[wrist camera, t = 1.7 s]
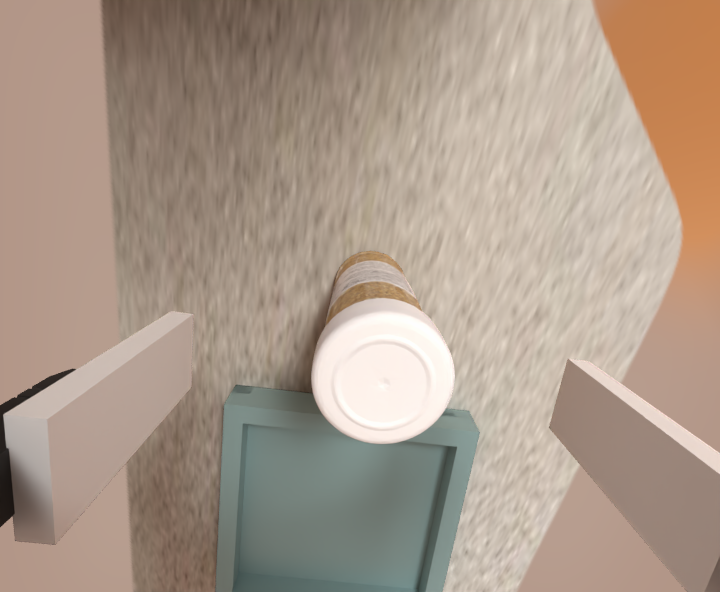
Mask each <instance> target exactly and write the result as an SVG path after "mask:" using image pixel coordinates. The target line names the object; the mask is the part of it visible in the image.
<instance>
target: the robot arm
mask: <svg viewBox="0 0 720 592" xmlns="http://www.w3.org/2000/svg"><path fill="white" fill-rule="evenodd" d="M193 321H194V314H190V313H182V312H174V311H170V312H169V313H167V314H166V315H164V316H162V317H161V318H159V319H157V320H156V321H154V322H153V323H151V324H149V325H148V326H146V327H144V328H143V329H141V330H140V331H138V332H136V333H135V334H133V335H132V336H130V337H128V338H127V339H125V340H123V341H122V342H120V343H119V344H117V345H115V346H114V347H112V348H110V349H109V350H107V351H106V352H104V353H102V354H101V355H99V356H97V357H96V358H94V359H93V360H91V361H89V362H88V363H86V364H85V365H83V366H81V367H80V368H78V369H70V370H67V371H64V372H61V373H58V374H56V375H53V376H50V377H48V378H46V379H45V380H43V381H41V382H39V383H38V384H36V385H34V386H33V387H32V389H27V390H26V391H24V392H22V393H21V394H19V395H18V396H17V398H15V397H14V398H12V399H10V400H9V401H7V402H5V403H3V404H2V405H0V527H1V526H2V525H3V524H4V523H5V522H6V521H7V520H9V519H10V518H11V517H12V516H13V524H14V534H15V541H20V542H32V543H42V544H52V545H56V544H57V542H58V541H59V540H60V539H61V538H62V537H63V535H64V534H65V533H66V532H67V531H68V530H69V528H70V527H71V526H72V525H73V524H74V523H75V521H76V520H77V519H78V518H79V517H80V516H81V515H82V513H83V512H84V511H85V510H86V509H87V507H89V505H90V504H91V503H92V502H93V501H94V500H95V498H96V497H97V496H98V495H99V494H100V493H101V491H102V490H103V489H104V488H105V487H106V486H107V484H108V483H109V482H110V481H111V480H112V479H113V477H114V476H115V475H116V474H117V473H118V472H119V471H120V469H121V468H122V467H123V466H124V465H125V464H126V463H127V461H128V460H129V459H130V458H131V457H132V456H133V454H134V453H135V452H136V451H137V450H138V449H139V448H140V446H141V445H142V444H143V443H144V442H145V441H146V439H147V438H148V437H149V436H150V435H151V434H152V432H153V431H154V430H155V429H156V428H157V427H158V426H159V424H160V423H161V422H162V421H163V420H164V419H165V417H166V416H167V415H168V414H169V413H170V412H171V411H172V409H173V408H174V407H175V406H176V405H177V404H178V402H179V401H180V400H181V399H182V398H183V397H184V395H185V394H186V393H187V392H188V391H189V390H190V389H191V385H192V353H193ZM549 428H550V429H551V430H552V432H553V433H554V434H555V435H556V436H557V438H558V439H559V440H560V441H561V442H562V444H563V445H564V446H565V447H566V448H567V450H568V451H569V452H570V453H571V454H572V456H573V457H574V458H575V459H576V460H577V461H578V463H579V464H580V465H581V466H582V467H583V469H584V470H585V471H586V472H587V473H588V475H589V476H590V477H591V478H592V479H593V481H594V482H595V483H596V484H597V485H598V486H599V488H600V489H601V490H602V491H603V492H604V494H605V495H606V496H607V497H608V498H609V499H610V501H611V502H612V503H613V504H614V505H615V507H616V508H617V509H618V510H619V511H620V513H621V514H622V515H623V516H624V517H625V519H626V520H627V521H628V522H629V523H630V525H631V526H632V527H633V528H634V529H635V531H636V532H637V533H638V534H639V535H640V537H641V538H642V539H643V540H644V541H645V542H646V544H647V545H648V546H649V547H650V548H651V550H652V551H653V552H654V553H655V554H656V555H657V557H658V558H659V559H660V560H661V562H662V563H663V564H664V565H665V566H666V567H667V569H668V570H669V571H670V572H671V574H672V575H673V576H674V577H675V578H676V579H677V581H678V582H679V583H680V584H681V585H682V587H683V588H684V589H685V590H686V591H687V592H720V453H719V452H717V451H716V450H714V449H713V448H712V447H710V446H709V445H707V444H706V443H704V442H703V441H702V440H700V439H699V438H697V437H696V436H695V435H693V434H692V433H690V432H689V431H687V430H686V429H684V428H683V427H682V426H680V425H679V424H677V423H676V422H675V421H673V420H672V419H670V418H669V417H667V416H666V415H665V414H663V413H662V412H660V411H659V410H658V409H656V408H655V407H653V406H652V405H650V404H649V403H648V402H646V401H645V400H643V399H642V398H640V397H639V396H638V395H636V394H635V393H633V392H632V391H630V390H629V389H627V388H626V387H625V386H623V385H622V384H621V383H619V382H618V381H616V380H615V379H613V378H612V377H611V376H609V375H608V374H606V373H605V372H604V371H602V370H601V369H599V368H598V367H596V366H595V365H594V364H592V363H591V362H589V361H584V360H575V359H568V360H567V363H566V367H565V371H564V374H563V378H562V382H561V385H560V389H559V393H558V396H557V400H556V404H555V408H554V411H553V415H552V419H551V422H550V426H549Z"/></svg>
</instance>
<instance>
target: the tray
mask: <svg viewBox="0 0 720 592" xmlns="http://www.w3.org/2000/svg"><path fill="white" fill-rule="evenodd" d="M479 434H480V432H479V430H478V428H477V426H476V424H475V422H474V420H473V418H472V416H471V414H470V412H469V411H464V410H455V409H445V411H444V412H443V414H442V415H441V416H440V417H439V419H438V420H437V421H436V422H435V423H434V424H433V425H432V426H430V427H429V428H428V429H427V430H425V431H424V432H422V433H421V434H419V435H417V436H415V437H413V438H410V439H408V440H405V441H401V442H397V443H391V444H373V443H367V442H363V441H359V440H356V439H354V438H351V437H349V436H347V435H345V434H343V433H342V432H340V431H339V430H337V429H336V428H335V427H334V426H333V425H331V424H330V423H329V422H328V420H327V419H326V418H325V417H324V415H323V414H322V413H321V411H320V409H319V407H318V405H317V403H316V401H315V398H314V395H313V393H304V392H295V391H287V390H278V389H269V388H260V387H251V386H242V385H236V386H235V387H234V389H233V391H232V392H231V394H230V395H229V397H228V399H227V400H226V402H225V404H224V418H223V439H222V461H221V482H220V503H219V524H218V545H217V566H216V587H215V592H442V591H443V587H444V583H445V579H446V574H447V570H448V566H449V561H450V557H451V553H452V549H453V544H454V540H455V536H456V532H457V527H458V523H459V519H460V515H461V510H462V506H463V502H464V498H465V493H466V489H467V485H468V481H469V476H470V472H471V468H472V464H473V459H474V455H475V451H476V447H477V442H478V438H479Z"/></svg>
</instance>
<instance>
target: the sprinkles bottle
mask: <svg viewBox="0 0 720 592" xmlns="http://www.w3.org/2000/svg"><path fill="white" fill-rule="evenodd" d="M454 379H455V374H454V364H453V360H452V356H451V353H450V351H449V349H448V347H447V345H446V343H445V341H444V339H443V337H442V335H441V334H440V332H439V330H438V329H437V327H436V325H435V324H434V323H433V321H432V320H431V319H430V318H429V317H428V316H427V315H426V314H425V313H423V312H422V310H421V308H420V306H419V303H418V300H417V298H416V296H415V293H414V292H413V290H412V288H411V286H410V285H409V283H408V281H407V279H406V278H405V276H404V274H403V271H402V269H401V268H400V266H399V265H398V264H397V263H396V262H395V261H394V260H393V259H392V258H390V257H389V256H388V255H386V254H382V253H379V252H374V251H366V252H360V253H358V254H356V255H353V256H351V257H350V258H349V259H347V260H346V261H345V262H344V263H343V264H342V265H341V267H340V268H339V270H338V272H337V275H336V278H335V283H334V290H333V293H332V297H331V302H330V306H329V310H328V314H327V318H326V324H325V328H324V330H323V331H322V333H321V335H320V337H319V340H318V342H317V346H316V350H315V354H314V358H313V364H312V370H311V385H312V391H313V395H314V398H315V401H316V403H317V405H318V407H319V409H320V411H321V413H322V414H323V415H324V417H325V418H326V419H327V420H328V422H329V423H330V424H331V425H333V426H334V427H335V428H336V429H337V430H339V431H340V432H342V433H343V434H345V435H347V436H349V437H351V438H354V439H356V440H359V441H363V442H367V443H373V444H391V443H397V442H401V441H405V440H408V439H410V438H413V437H415V436H417V435H419V434H421V433H422V432H424V431H425V430H427V429H428V428H429V427H430V426H432V425H433V424H434V423H435V422H436V421H437V420H438V419H439V417H440V416H441V415H442V414H443V412H444V411H445V409H446V407H447V405H448V403H449V401H450V399H451V396H452V393H453V388H454Z"/></svg>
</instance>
